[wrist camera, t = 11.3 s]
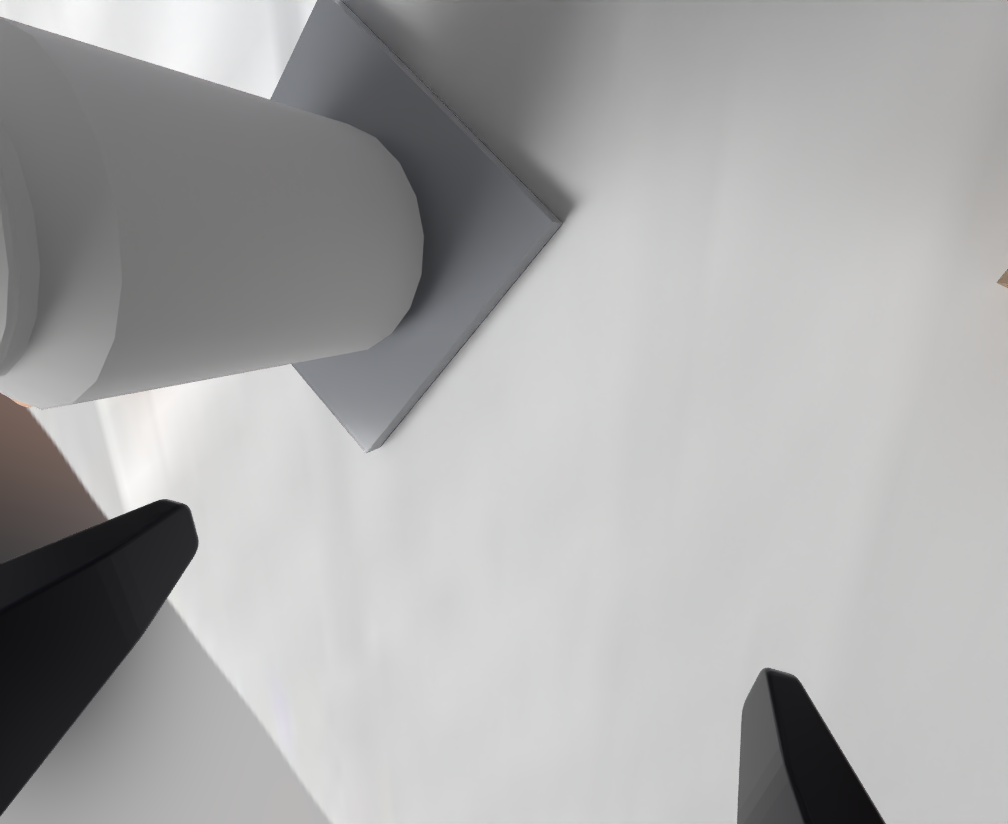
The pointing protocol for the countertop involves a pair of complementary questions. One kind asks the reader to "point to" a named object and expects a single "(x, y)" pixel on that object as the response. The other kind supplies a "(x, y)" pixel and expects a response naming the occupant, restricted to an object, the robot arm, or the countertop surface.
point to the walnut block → (1004, 279)
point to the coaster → (443, 211)
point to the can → (182, 227)
